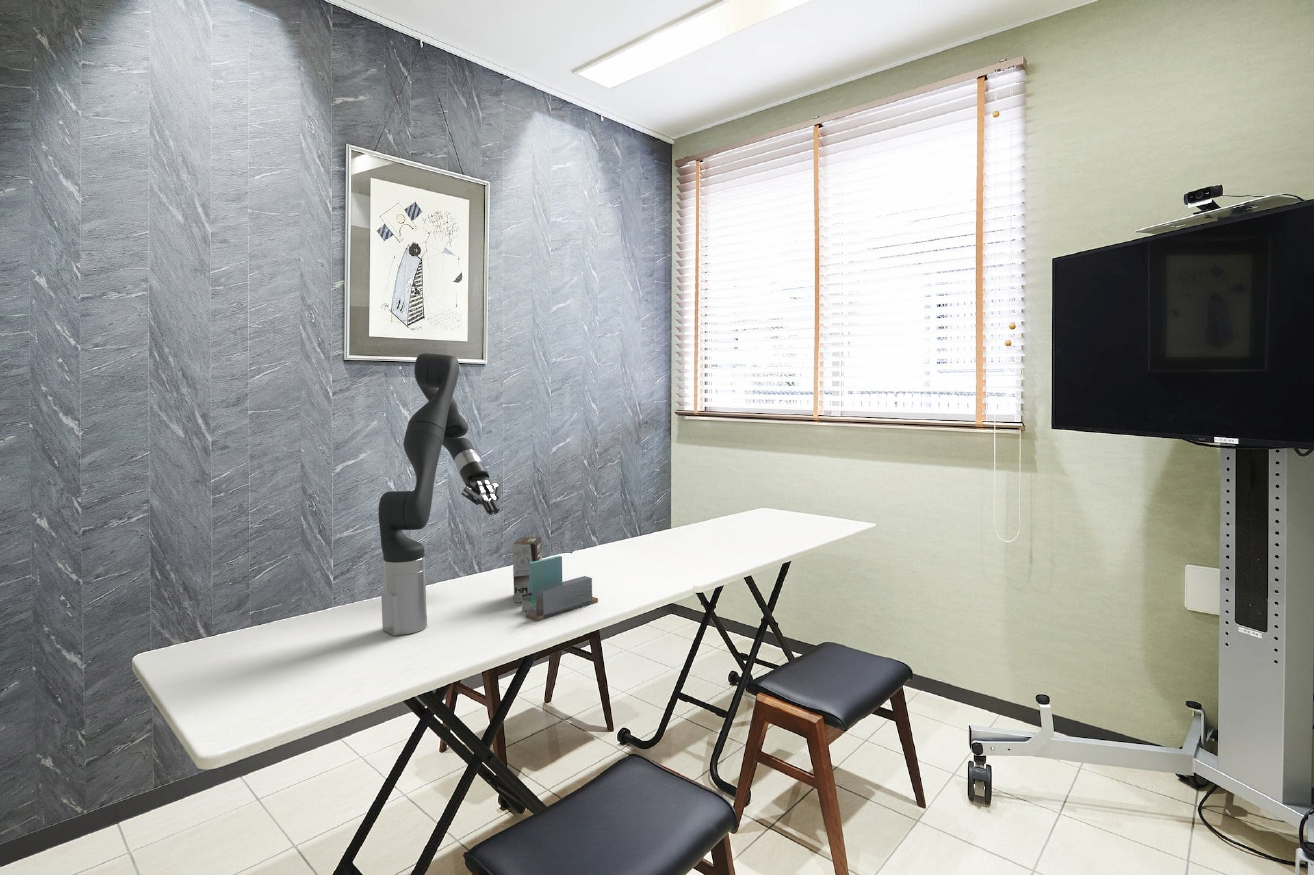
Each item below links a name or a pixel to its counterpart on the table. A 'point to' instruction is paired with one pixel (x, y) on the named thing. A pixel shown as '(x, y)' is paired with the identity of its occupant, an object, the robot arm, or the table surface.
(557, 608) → the grey piece
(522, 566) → the coffee box
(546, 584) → the teal flat panel
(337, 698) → the table surface
